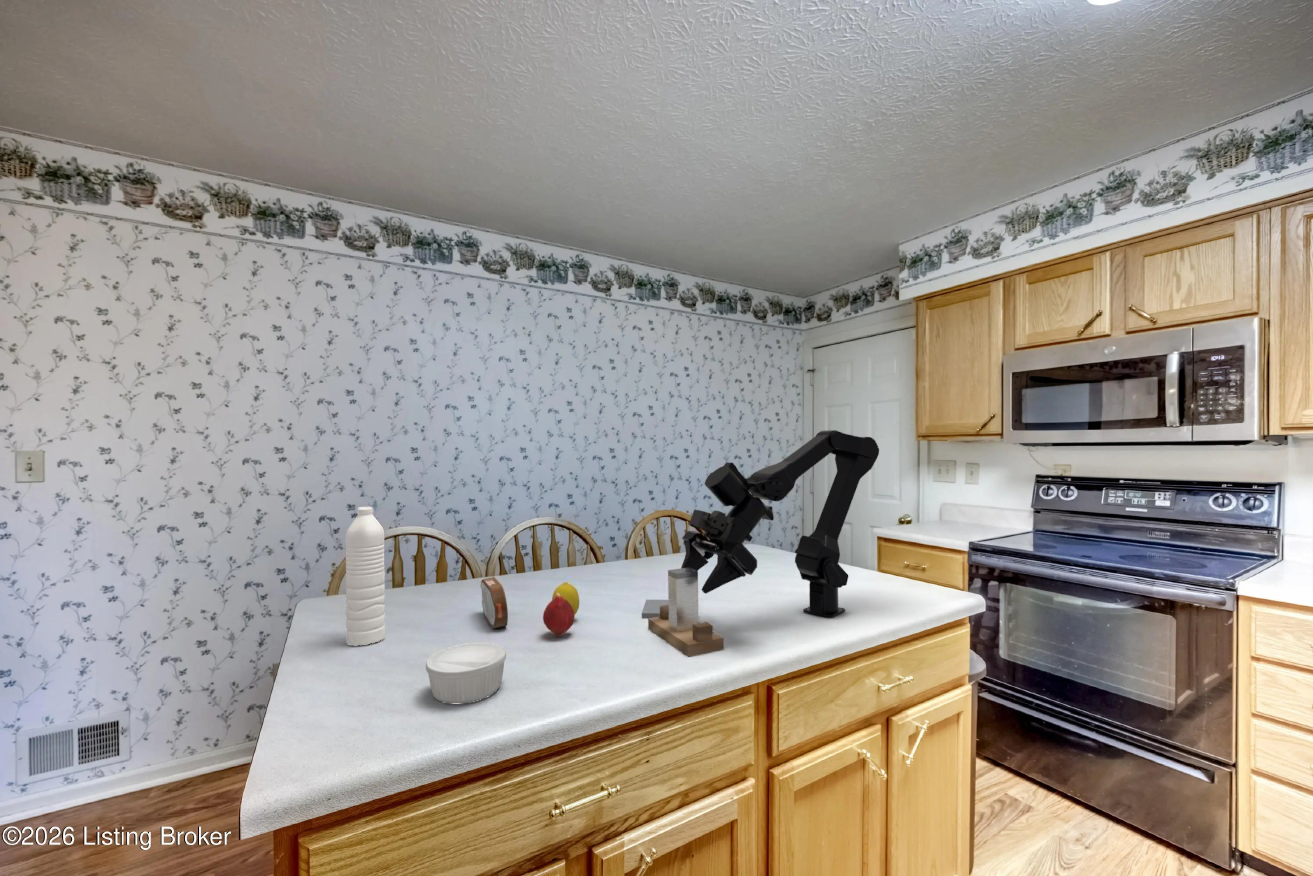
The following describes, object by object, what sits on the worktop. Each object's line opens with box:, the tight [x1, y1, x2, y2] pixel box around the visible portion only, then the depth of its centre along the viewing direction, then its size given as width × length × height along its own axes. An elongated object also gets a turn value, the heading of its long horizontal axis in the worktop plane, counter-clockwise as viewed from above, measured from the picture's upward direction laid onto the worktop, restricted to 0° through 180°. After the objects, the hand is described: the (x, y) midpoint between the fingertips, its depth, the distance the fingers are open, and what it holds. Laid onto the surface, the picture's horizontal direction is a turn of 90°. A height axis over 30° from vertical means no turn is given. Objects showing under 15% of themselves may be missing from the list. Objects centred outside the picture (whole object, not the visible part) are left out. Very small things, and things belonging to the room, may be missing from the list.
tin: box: [480, 576, 509, 629], centre depth 114 cm, size 15×3×8 cm, turn 27°
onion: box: [542, 593, 576, 637], centre depth 105 cm, size 6×6×8 cm
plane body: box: [647, 605, 725, 657], centre depth 102 cm, size 16×7×4 cm, turn 26°
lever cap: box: [667, 567, 700, 632], centre depth 102 cm, size 4×3×10 cm
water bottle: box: [344, 506, 386, 646], centre depth 103 cm, size 9×6×25 cm
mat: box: [641, 599, 669, 619], centre depth 119 cm, size 10×10×1 cm
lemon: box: [551, 581, 580, 615], centre depth 113 cm, size 6×6×8 cm
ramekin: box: [425, 641, 507, 704], centre depth 82 cm, size 11×11×5 cm
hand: (690, 586), depth 103 cm, fingers open, 9 cm apart
